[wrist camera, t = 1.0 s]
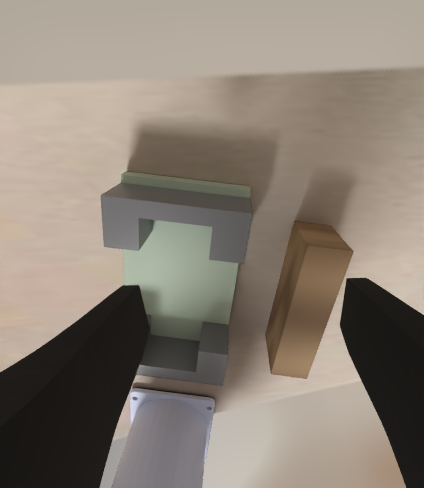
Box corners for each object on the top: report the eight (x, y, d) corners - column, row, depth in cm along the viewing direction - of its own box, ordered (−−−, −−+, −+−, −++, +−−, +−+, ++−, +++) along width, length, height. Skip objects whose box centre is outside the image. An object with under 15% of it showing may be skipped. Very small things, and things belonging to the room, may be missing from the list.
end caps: (223, 353, 23) (222, 385, 20) (126, 340, 23) (112, 371, 20) (249, 197, 17) (252, 213, 15) (121, 182, 17) (100, 195, 15)
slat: (295, 337, 23) (306, 378, 20) (265, 333, 23) (270, 373, 20) (330, 225, 19) (353, 251, 15) (293, 220, 19) (307, 245, 15)
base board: (223, 348, 24) (223, 357, 23) (130, 336, 24) (126, 345, 23) (249, 186, 18) (250, 190, 17) (126, 171, 18) (120, 174, 17)
